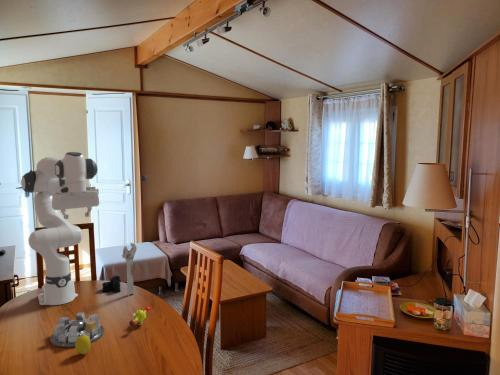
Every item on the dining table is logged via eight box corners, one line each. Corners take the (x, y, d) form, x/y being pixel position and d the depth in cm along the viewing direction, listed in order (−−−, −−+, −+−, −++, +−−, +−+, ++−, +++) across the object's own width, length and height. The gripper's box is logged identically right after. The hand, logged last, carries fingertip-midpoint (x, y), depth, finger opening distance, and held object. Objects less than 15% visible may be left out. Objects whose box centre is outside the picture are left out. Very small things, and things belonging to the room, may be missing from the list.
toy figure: (143, 316, 188) (142, 302, 188) (154, 317, 187) (153, 303, 187) (124, 333, 171) (124, 318, 170) (136, 334, 170) (135, 319, 169)
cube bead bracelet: (44, 339, 162) (43, 326, 162) (75, 321, 179) (74, 309, 179) (80, 345, 157) (79, 332, 156) (108, 326, 174) (108, 314, 174)
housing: (43, 335, 169) (43, 321, 168) (92, 320, 183) (92, 308, 182) (60, 353, 153) (59, 338, 153) (111, 336, 168) (111, 322, 167)
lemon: (78, 351, 155) (77, 331, 154) (92, 350, 156) (92, 331, 155) (73, 358, 150) (72, 338, 149) (88, 357, 150) (87, 337, 149)
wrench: (124, 299, 209) (122, 244, 206) (122, 299, 210) (120, 244, 208) (138, 296, 214) (136, 242, 212) (136, 295, 216) (134, 241, 213)
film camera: (102, 289, 226) (102, 273, 225) (120, 287, 229) (119, 272, 229) (102, 298, 212) (102, 282, 211) (121, 295, 215) (121, 279, 214)
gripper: (95, 186, 188) (96, 214, 189) (49, 188, 174) (51, 219, 175) (101, 186, 183) (102, 216, 184) (54, 189, 169) (55, 221, 171)
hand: (76, 217), depth 180 cm, fingers open, 8 cm apart
